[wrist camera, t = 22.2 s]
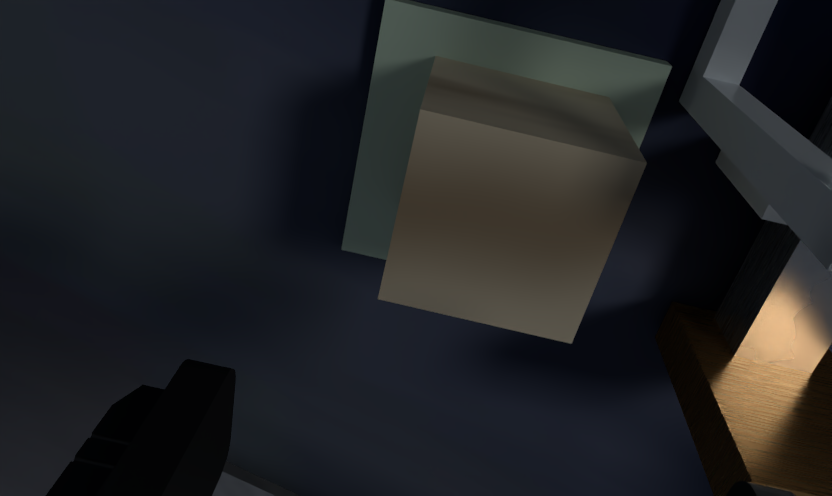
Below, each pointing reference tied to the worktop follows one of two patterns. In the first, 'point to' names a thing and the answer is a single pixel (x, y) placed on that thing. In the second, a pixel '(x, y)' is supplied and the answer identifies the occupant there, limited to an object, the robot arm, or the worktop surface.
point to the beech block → (509, 200)
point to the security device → (246, 484)
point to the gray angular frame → (758, 131)
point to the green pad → (483, 46)
